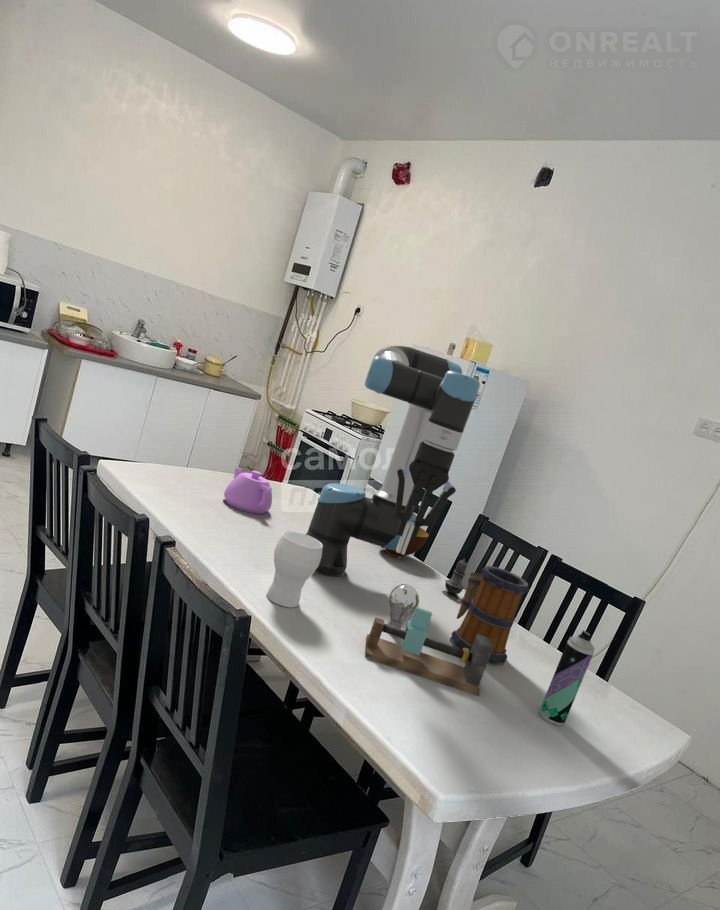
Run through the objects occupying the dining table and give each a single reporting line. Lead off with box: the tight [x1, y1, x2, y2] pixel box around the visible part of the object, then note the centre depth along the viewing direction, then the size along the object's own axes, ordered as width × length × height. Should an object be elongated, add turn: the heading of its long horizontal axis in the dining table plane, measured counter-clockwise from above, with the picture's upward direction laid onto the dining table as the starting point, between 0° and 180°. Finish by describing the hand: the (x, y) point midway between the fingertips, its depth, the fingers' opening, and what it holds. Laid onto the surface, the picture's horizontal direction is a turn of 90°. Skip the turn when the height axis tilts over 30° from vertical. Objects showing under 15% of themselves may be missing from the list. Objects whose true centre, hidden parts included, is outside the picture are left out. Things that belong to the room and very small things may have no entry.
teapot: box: [223, 467, 273, 515], centre depth 224 cm, size 22×16×12 cm
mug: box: [448, 565, 530, 667], centre depth 170 cm, size 19×14×20 cm
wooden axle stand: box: [364, 616, 493, 697], centre depth 148 cm, size 25×10×10 cm, turn 88°
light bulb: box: [387, 583, 420, 629], centre depth 161 cm, size 7×7×12 cm
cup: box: [266, 530, 323, 608], centre depth 158 cm, size 11×11×15 cm
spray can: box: [538, 630, 595, 727], centre depth 144 cm, size 6×6×20 cm
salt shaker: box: [441, 558, 468, 600], centre depth 205 cm, size 6×6×12 cm
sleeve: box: [400, 606, 433, 655], centre depth 147 cm, size 4×4×9 cm
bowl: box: [384, 527, 430, 558], centre depth 228 cm, size 18×18×10 cm
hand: (400, 551), depth 145 cm, fingers closed
